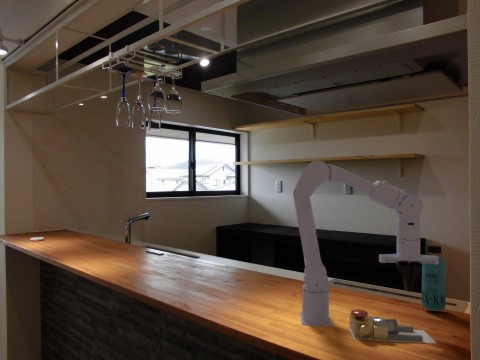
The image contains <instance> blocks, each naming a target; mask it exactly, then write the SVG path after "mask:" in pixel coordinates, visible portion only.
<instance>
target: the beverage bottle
mask: <svg viewBox="0 0 480 360" xmlns="http://www.w3.org/2000/svg"><path fill="white" fill-rule="evenodd" d="M425 250H426V251H425V252H426V253H429V254H436V256H437V254H438V255H439V254H442V253H443V251H442V246H440V245H436V244H428V245H426V249H425ZM437 257H439V264H426V263H421V264H422V269H421V271H422V273H421V302H420V303H421V305H422V307H423V308H424V309H427V310H430V311H438V312H441V311H445V309H446V306H447V300H446V295H447V293H446V260H445V259H444V258H443V257H441V256H437Z"/></svg>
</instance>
